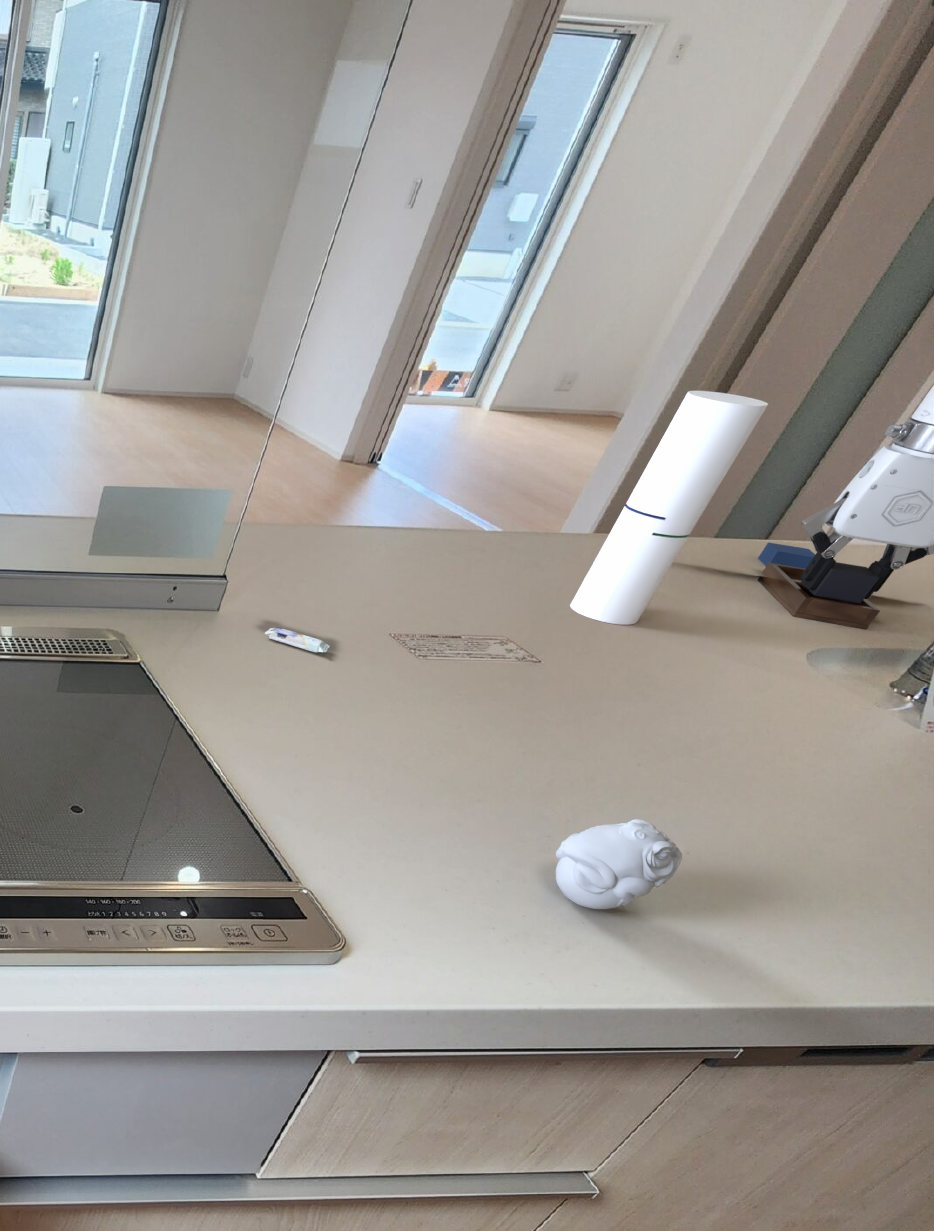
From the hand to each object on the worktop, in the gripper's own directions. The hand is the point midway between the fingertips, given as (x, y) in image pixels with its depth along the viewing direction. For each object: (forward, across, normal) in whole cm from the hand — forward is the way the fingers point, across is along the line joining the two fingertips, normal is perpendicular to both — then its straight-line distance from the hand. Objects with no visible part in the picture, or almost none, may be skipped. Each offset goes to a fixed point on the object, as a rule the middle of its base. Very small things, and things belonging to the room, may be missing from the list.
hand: (834, 589), depth 121 cm
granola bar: (+3, -62, -49) cm, 79 cm away
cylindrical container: (+3, -27, -17) cm, 32 cm away
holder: (+3, 0, +4) cm, 5 cm away
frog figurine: (+3, -40, -87) cm, 96 cm away
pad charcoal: (+1, 0, 0) cm, 1 cm away
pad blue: (+3, 0, +16) cm, 16 cm away
